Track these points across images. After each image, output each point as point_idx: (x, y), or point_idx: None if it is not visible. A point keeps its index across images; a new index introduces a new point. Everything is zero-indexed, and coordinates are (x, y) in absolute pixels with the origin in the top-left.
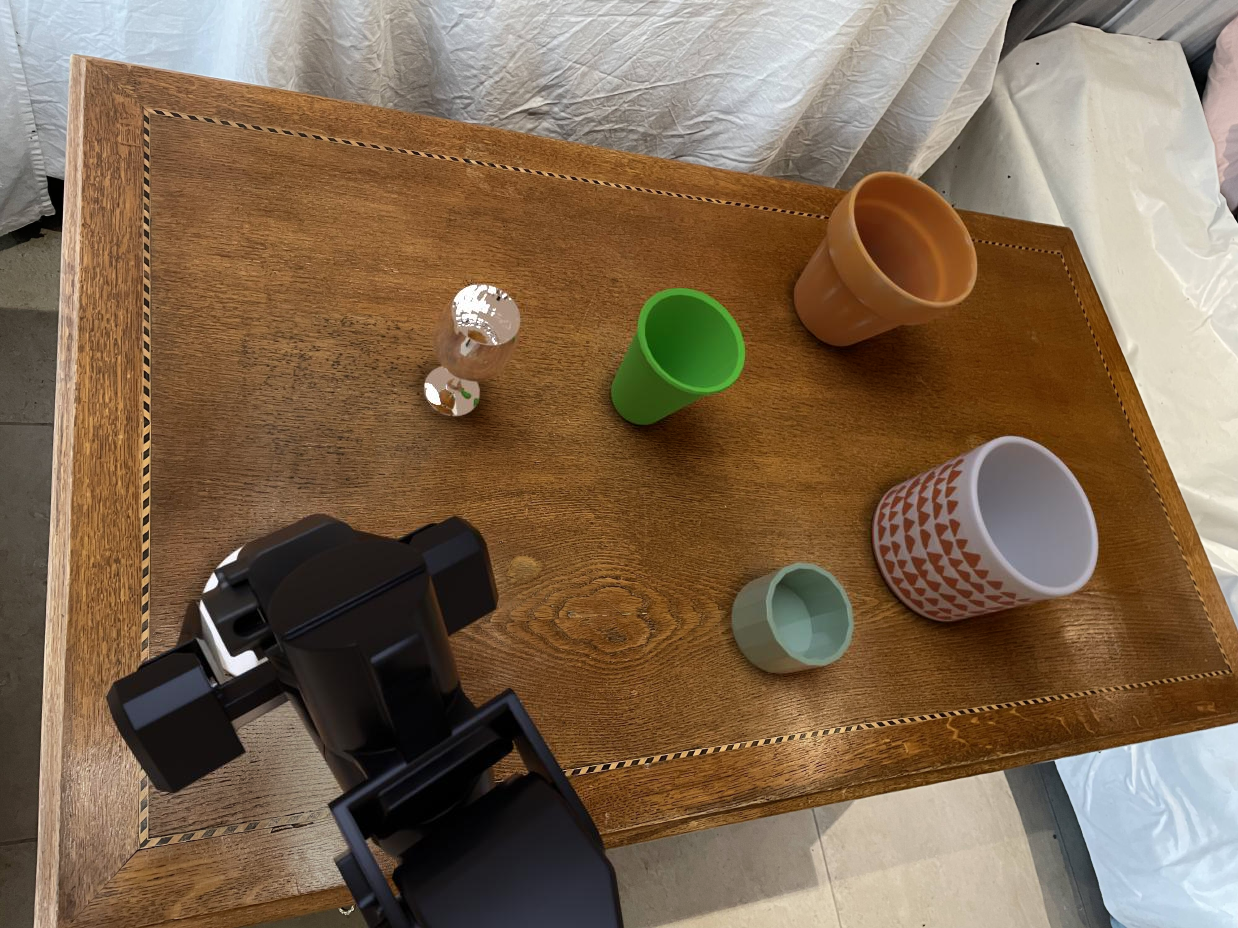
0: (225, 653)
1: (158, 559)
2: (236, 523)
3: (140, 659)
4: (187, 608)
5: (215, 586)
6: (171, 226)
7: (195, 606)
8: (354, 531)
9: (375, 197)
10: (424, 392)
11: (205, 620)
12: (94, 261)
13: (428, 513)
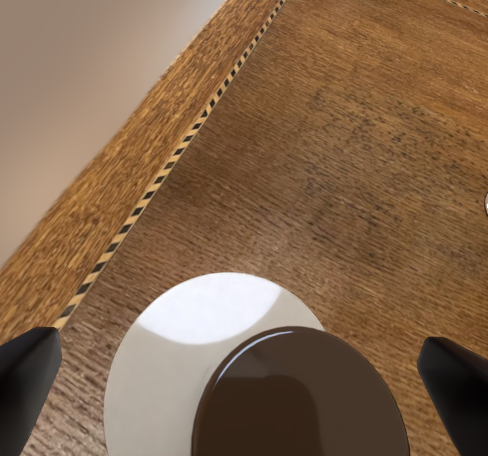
0: (120, 414)
1: (132, 240)
2: (230, 243)
3: None
4: (11, 341)
5: (166, 306)
6: (301, 4)
7: (24, 348)
8: (468, 353)
9: (469, 39)
10: (486, 202)
11: (16, 404)
12: (236, 4)
13: None
